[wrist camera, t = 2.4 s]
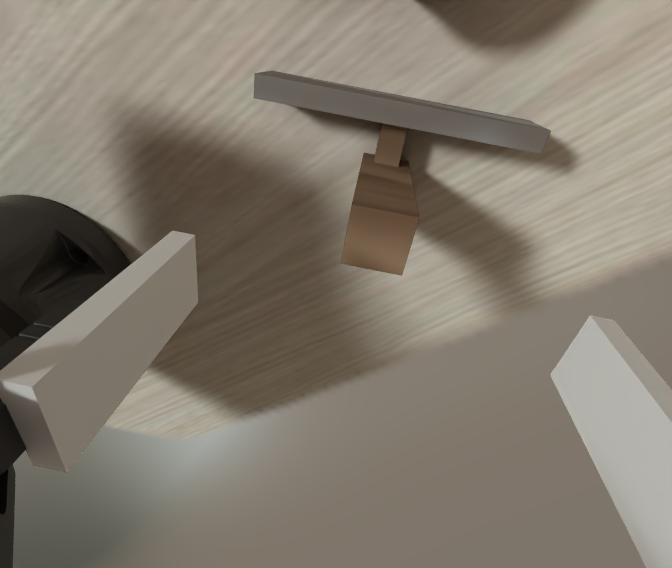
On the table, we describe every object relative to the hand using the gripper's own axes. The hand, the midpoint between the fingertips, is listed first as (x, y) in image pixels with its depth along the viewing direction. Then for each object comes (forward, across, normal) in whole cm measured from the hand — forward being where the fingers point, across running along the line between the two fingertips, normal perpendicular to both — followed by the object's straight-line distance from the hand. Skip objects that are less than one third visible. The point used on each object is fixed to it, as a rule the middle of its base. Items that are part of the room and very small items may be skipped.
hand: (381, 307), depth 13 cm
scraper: (+15, 0, -2) cm, 15 cm away
